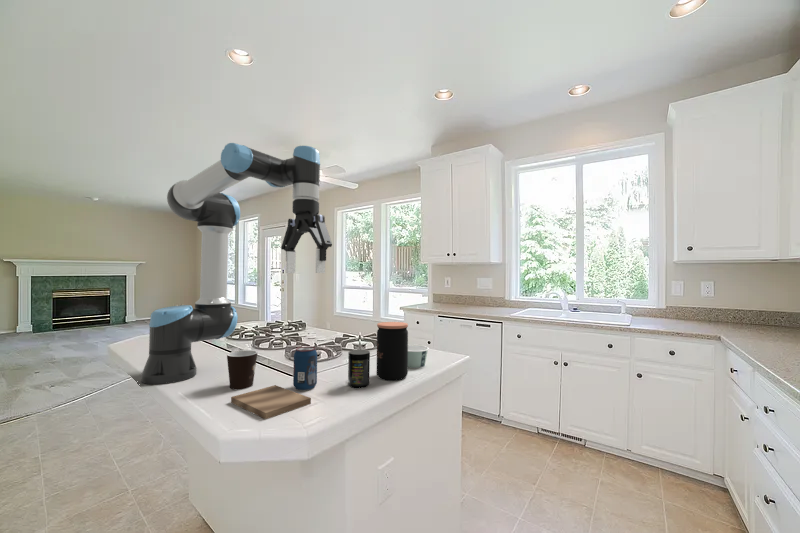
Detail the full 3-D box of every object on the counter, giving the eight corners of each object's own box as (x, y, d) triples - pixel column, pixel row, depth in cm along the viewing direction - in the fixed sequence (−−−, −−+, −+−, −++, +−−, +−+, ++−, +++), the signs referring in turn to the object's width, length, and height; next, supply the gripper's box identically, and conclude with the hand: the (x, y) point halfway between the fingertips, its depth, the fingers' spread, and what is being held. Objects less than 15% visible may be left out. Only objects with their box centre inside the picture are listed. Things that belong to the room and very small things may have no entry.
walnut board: (231, 402, 91) (231, 396, 91) (275, 390, 101) (275, 385, 101) (265, 419, 80) (265, 413, 80) (310, 403, 90) (310, 397, 90)
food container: (391, 364, 133) (391, 347, 133) (413, 359, 141) (413, 343, 141) (413, 370, 124) (413, 352, 124) (435, 365, 132) (435, 348, 132)
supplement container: (372, 387, 104) (372, 353, 104) (350, 390, 102) (350, 355, 102) (366, 381, 110) (366, 349, 111) (345, 383, 108) (346, 350, 108)
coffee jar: (379, 371, 122) (380, 321, 122) (409, 373, 120) (409, 322, 121) (373, 380, 111) (374, 325, 112) (405, 382, 110) (406, 326, 110)
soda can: (298, 383, 107) (299, 345, 108) (319, 384, 106) (320, 346, 107) (289, 391, 100) (290, 350, 101) (311, 392, 100) (312, 351, 100)
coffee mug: (244, 391, 99) (245, 357, 100) (219, 389, 101) (220, 355, 101) (268, 380, 111) (268, 349, 111) (244, 378, 112) (245, 347, 113)
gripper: (345, 197, 95) (344, 273, 94) (291, 207, 110) (290, 273, 109) (324, 191, 89) (323, 272, 88) (270, 203, 104) (268, 272, 103)
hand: (304, 273), depth 99 cm, fingers open, 13 cm apart
